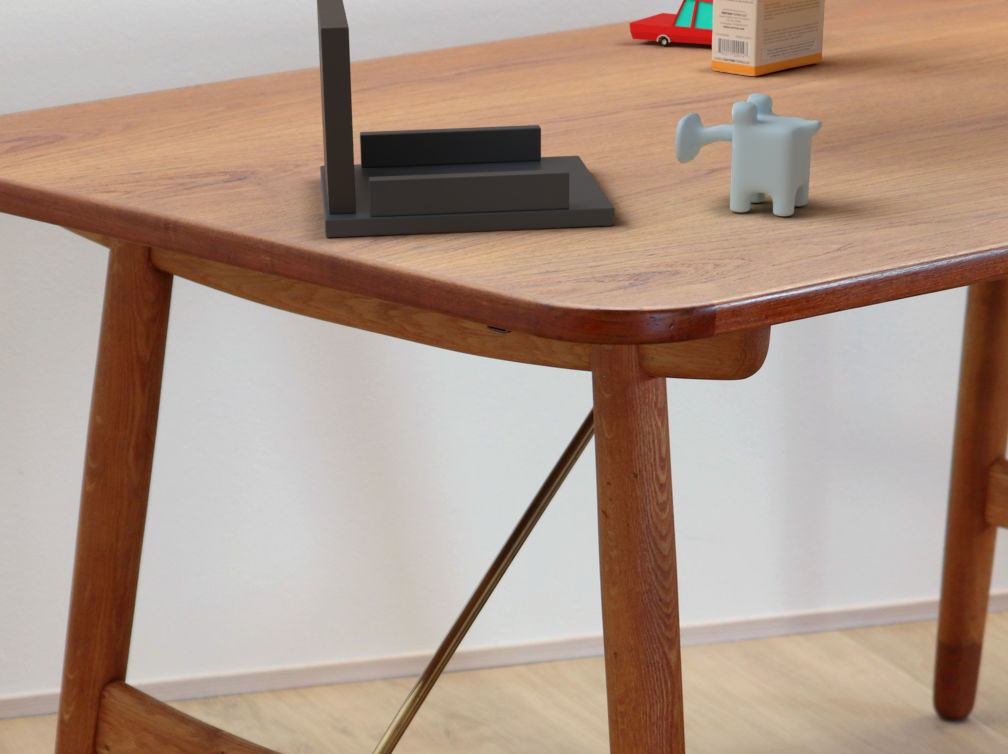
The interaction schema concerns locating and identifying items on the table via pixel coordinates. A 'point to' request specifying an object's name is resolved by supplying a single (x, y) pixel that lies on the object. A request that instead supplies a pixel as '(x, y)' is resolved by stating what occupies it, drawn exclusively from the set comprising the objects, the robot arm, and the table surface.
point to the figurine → (757, 153)
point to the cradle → (439, 168)
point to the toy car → (678, 24)
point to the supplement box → (766, 35)
